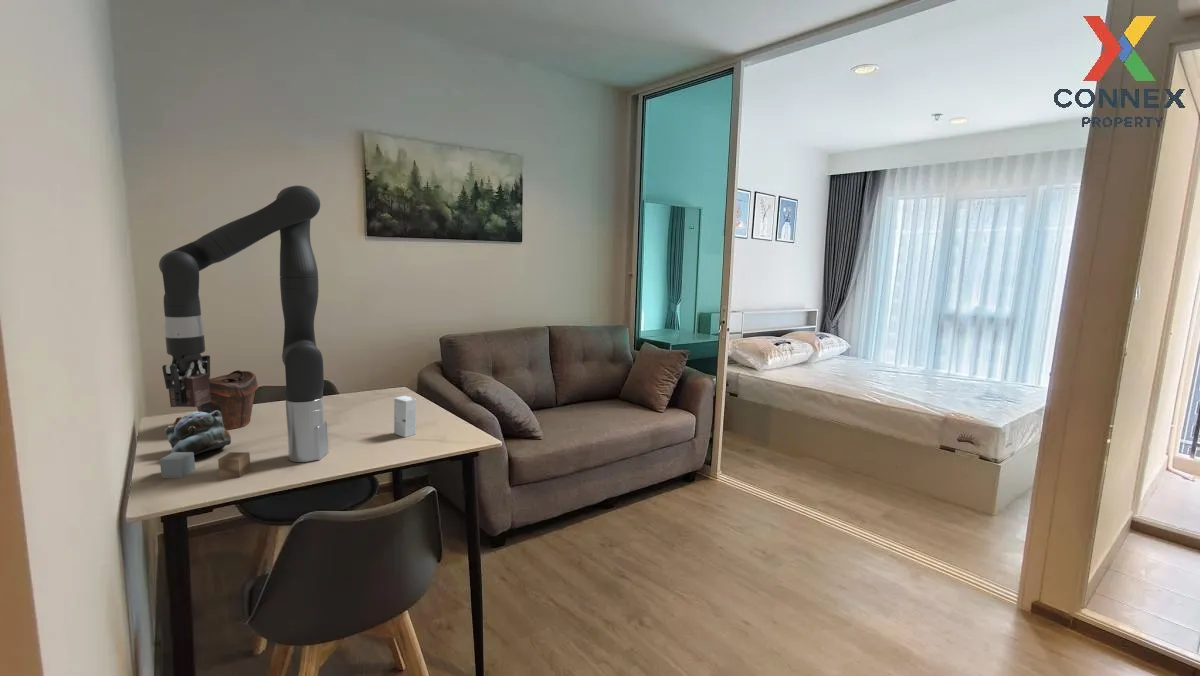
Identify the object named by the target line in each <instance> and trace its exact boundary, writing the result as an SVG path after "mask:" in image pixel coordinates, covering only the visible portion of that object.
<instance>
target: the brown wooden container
mask: <svg viewBox="0 0 1200 676" xmlns="http://www.w3.org/2000/svg"><path fill="white" fill-rule="evenodd" d="M209 385H210V395H211V401H209V402H207V403H204V404H202V405H200V406H197V407H196V408H197V412H200V411H201V410H203V409H204V408H209V409H210V410H211V411H212V412H214V411H220V412H221V415H222V421H223V425H224V428H225V430H227V431H228V430H234V429H238V428H239V429H240V428H243V427H245V426H247V425H249V424H251V423H250V422H251V420H252V419H251V417H252V410H253V405H254V399H255V393H256V391H257V389H258V387H259V385H258V381H257V377H256V374H255V373H253V371H250V370H249V371H248V370H247V371H246V370H240V369H239V370H234V371H232V372H230V373H228V374H225V375H220V376H216V377H210V378H209Z"/></svg>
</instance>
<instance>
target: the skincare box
mask: <svg viewBox="0 0 1200 676" xmlns="http://www.w3.org/2000/svg"><path fill="white" fill-rule="evenodd" d="M393 402H394V404H393V405H394V407H393V408H394V409H393V410H394V411H393V418H394V419H393V422H394V423H393V424H394V425H393V428H394V429H393V433H394V435H397V436H399V437H402V438H408V437H411V436H414V435H416V432H417V426H416V424H417V423H416V422H417V399H416V398H414V397H412V396H408V395H402V396H397V397H394V400H393Z"/></svg>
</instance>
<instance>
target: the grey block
mask: <svg viewBox="0 0 1200 676" xmlns="http://www.w3.org/2000/svg"><path fill="white" fill-rule="evenodd" d="M159 467H160V475H161V477H160V478H161V479H162V478H163V479H164V478H165V479H167V478H169V479H173V478H175V479H177V478H178V479H181V478H182V479H183V478H185V477H187V476H188V475H189V474H191V473H192V472H194V471H196V464H195V455H194V452H173V453H171V452H170V453H169V454H167V455H166V456H163V457H162V458H160V459H159Z"/></svg>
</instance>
